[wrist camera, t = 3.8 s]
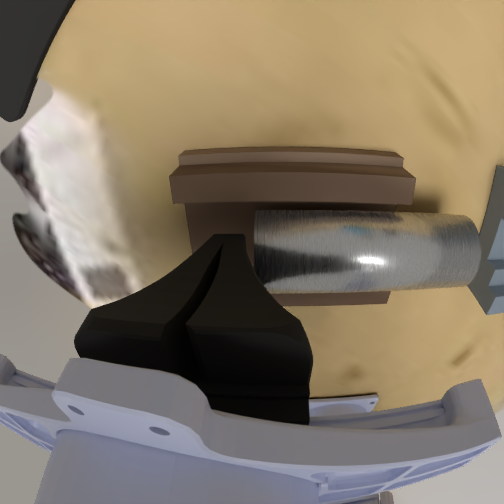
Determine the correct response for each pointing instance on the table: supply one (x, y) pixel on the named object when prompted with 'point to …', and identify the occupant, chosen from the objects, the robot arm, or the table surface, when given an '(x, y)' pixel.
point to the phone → (25, 48)
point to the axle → (363, 251)
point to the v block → (492, 252)
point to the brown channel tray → (286, 194)
